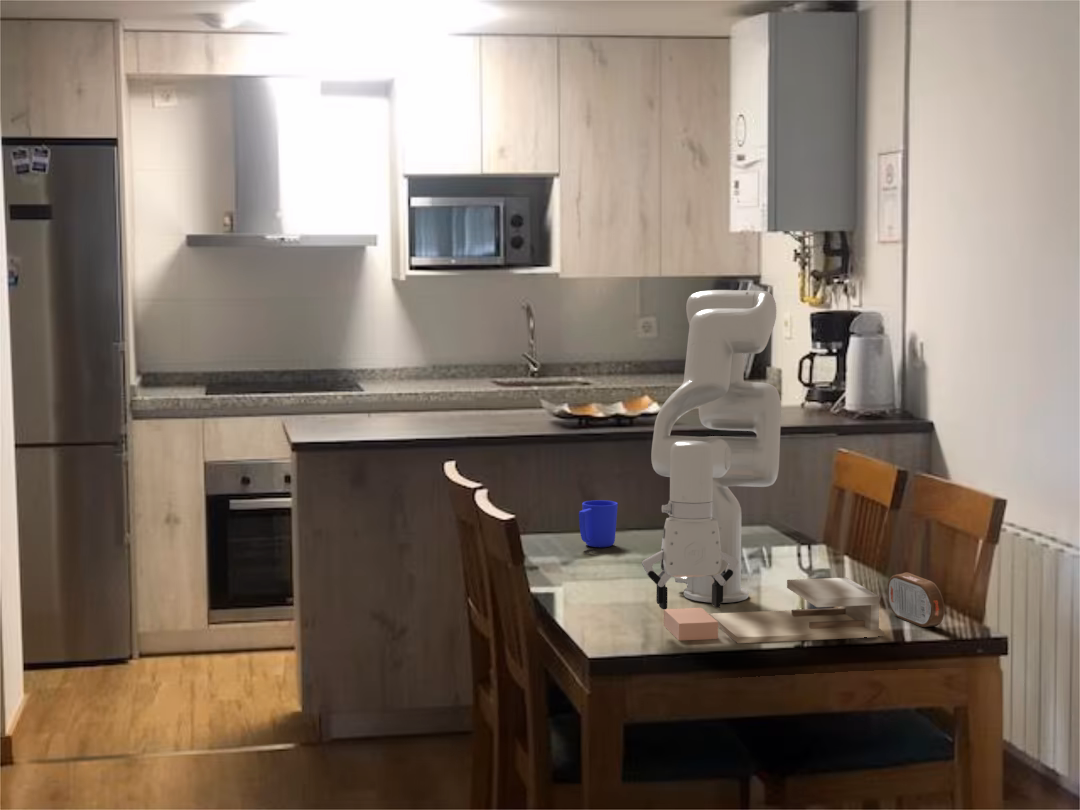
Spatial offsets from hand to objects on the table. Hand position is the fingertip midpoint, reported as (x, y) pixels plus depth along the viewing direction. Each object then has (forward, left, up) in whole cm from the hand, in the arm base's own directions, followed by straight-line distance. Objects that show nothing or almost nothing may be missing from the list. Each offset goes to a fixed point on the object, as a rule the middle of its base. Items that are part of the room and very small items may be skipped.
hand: (689, 607), depth 267 cm
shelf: (+14, +13, -5) cm, 20 cm away
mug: (-54, +62, -5) cm, 83 cm away
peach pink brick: (0, +1, -5) cm, 5 cm away
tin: (+31, +29, -5) cm, 43 cm away
